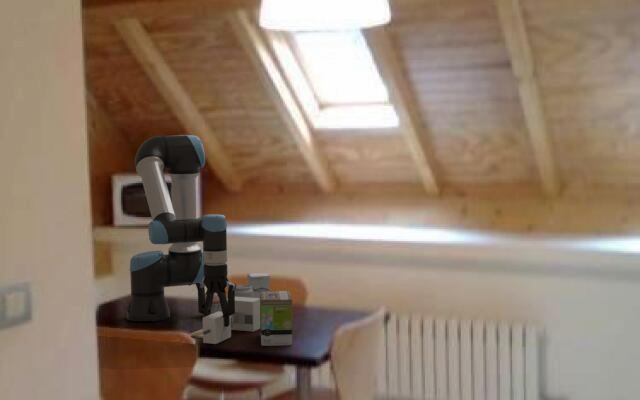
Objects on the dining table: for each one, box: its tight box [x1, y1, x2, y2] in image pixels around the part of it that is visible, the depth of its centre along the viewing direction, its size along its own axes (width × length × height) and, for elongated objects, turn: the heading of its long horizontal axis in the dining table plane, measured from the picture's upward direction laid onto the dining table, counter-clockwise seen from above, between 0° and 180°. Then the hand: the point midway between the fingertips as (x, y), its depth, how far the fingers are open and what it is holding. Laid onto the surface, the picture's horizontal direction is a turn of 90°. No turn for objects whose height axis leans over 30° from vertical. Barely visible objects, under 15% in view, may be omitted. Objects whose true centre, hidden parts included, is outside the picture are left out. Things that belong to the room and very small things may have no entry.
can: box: [235, 284, 254, 298], centre depth 320 cm, size 8×8×12 cm
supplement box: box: [246, 272, 271, 298], centre depth 339 cm, size 7×7×13 cm
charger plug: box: [202, 311, 233, 345], centre depth 291 cm, size 4×16×8 cm, turn 157°
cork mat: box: [189, 328, 203, 339], centre depth 301 cm, size 7×12×1 cm, turn 157°
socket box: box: [226, 297, 260, 333], centre depth 307 cm, size 11×6×10 cm, turn 67°
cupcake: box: [201, 290, 222, 318], centre depth 327 cm, size 9×9×10 cm
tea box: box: [259, 290, 293, 347], centre depth 290 cm, size 15×10×15 cm, turn 5°
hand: (217, 335), depth 291 cm, fingers closed on charger plug, 4 cm apart
